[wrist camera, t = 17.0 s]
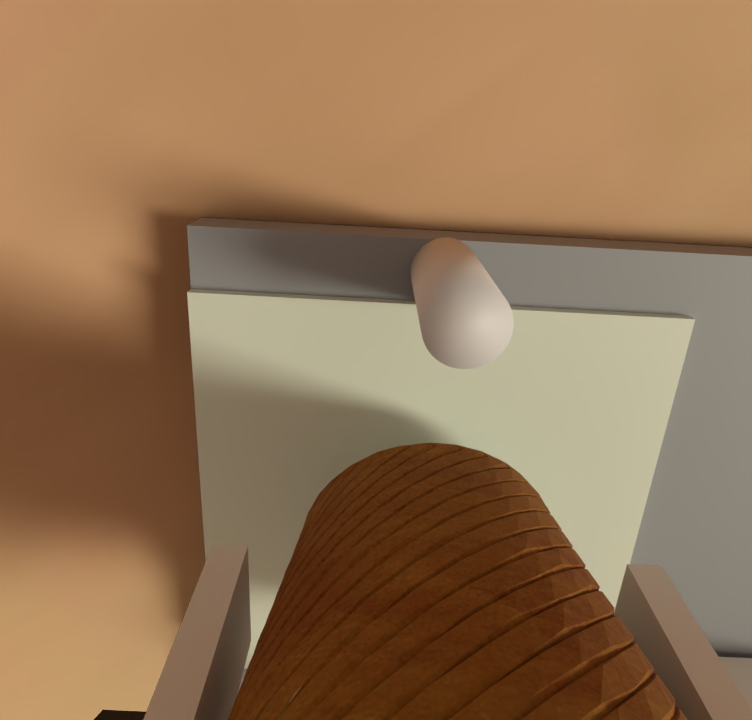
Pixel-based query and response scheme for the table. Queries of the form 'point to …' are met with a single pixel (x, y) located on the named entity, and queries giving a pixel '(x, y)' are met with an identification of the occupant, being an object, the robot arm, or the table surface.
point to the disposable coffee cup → (442, 606)
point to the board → (483, 388)
